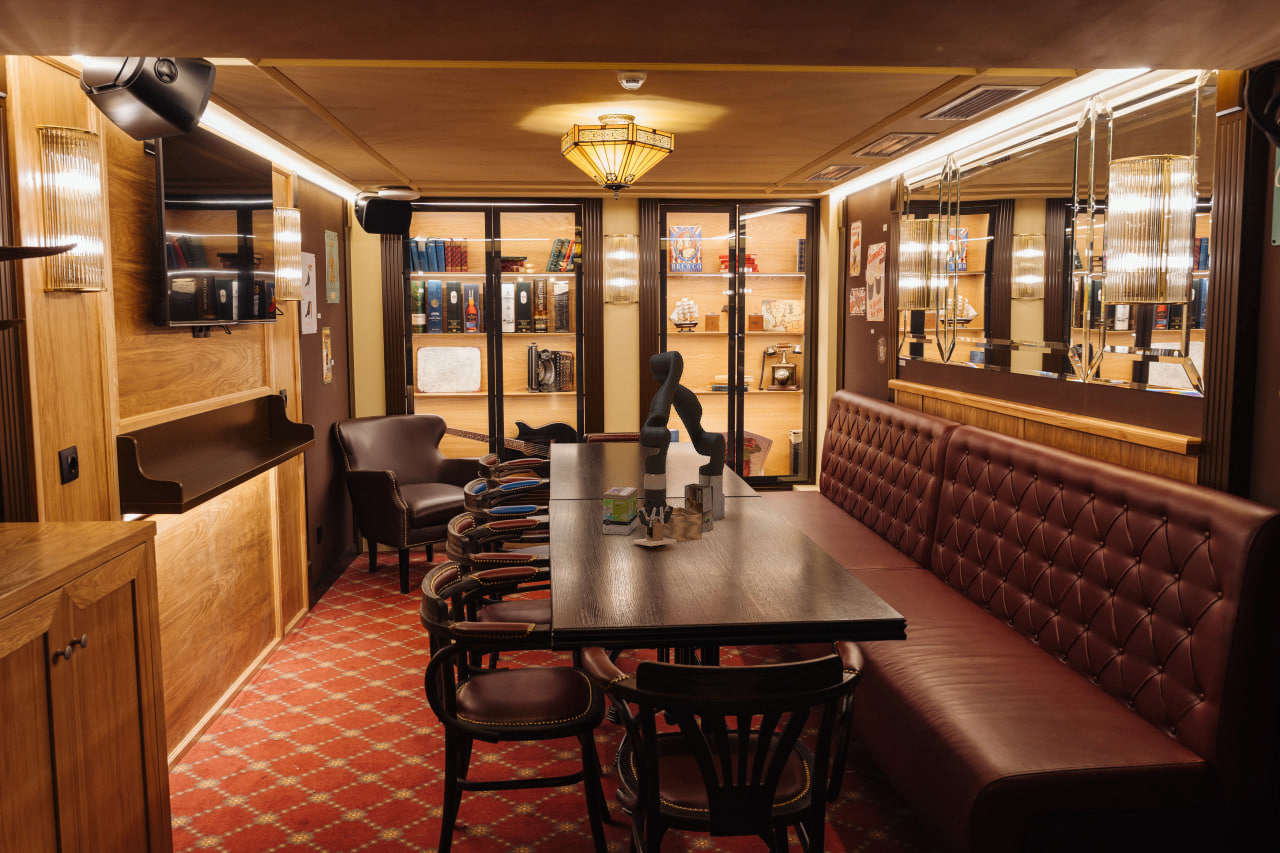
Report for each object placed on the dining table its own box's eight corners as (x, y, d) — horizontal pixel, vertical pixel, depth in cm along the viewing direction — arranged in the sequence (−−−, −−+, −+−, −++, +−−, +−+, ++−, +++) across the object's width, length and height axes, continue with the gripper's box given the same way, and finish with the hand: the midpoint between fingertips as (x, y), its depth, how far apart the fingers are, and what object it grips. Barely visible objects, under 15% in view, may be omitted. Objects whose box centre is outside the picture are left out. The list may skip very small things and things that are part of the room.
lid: (658, 539, 305) (657, 519, 305) (676, 542, 295) (675, 521, 295) (633, 543, 300) (631, 522, 300) (650, 546, 290) (649, 524, 290)
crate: (680, 530, 321) (681, 507, 320) (701, 538, 309) (701, 514, 308) (652, 534, 315) (652, 510, 314) (672, 542, 303) (672, 518, 302)
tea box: (629, 535, 313) (629, 494, 311) (602, 534, 315) (601, 493, 313) (638, 525, 328) (638, 486, 326) (611, 524, 330) (611, 485, 328)
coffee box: (713, 529, 323) (714, 486, 321) (702, 532, 318) (703, 488, 316) (694, 525, 329) (694, 482, 327) (683, 528, 324) (683, 485, 322)
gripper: (667, 482, 302) (667, 532, 304) (631, 486, 295) (631, 536, 297) (678, 486, 295) (678, 536, 297) (642, 490, 288) (642, 541, 291)
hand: (654, 536), depth 297 cm, fingers closed on lid, 3 cm apart
